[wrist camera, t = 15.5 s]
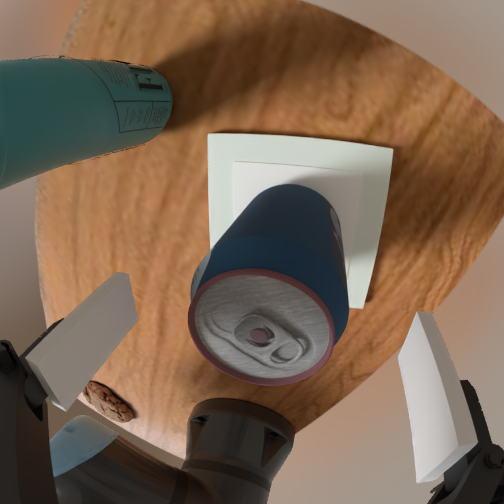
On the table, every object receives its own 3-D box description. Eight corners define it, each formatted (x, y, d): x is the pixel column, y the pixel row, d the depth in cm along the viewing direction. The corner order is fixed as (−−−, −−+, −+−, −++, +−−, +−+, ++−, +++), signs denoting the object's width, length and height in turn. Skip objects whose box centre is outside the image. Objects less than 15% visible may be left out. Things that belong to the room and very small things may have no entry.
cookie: (134, 422, 46) (127, 433, 43) (89, 395, 46) (81, 406, 44) (135, 400, 41) (127, 413, 39) (83, 370, 42) (74, 381, 39)
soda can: (228, 229, 23) (148, 329, 12) (285, 159, 19) (237, 212, 9) (297, 284, 23) (270, 411, 13) (359, 224, 20) (389, 338, 9)
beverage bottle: (200, 91, 19) (-102, 109, 2) (157, 160, 22) (-82, 282, 5) (141, 55, 18) (-105, 55, 1) (106, 121, 22) (-113, 190, 4)
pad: (361, 303, 24) (362, 309, 23) (215, 284, 26) (211, 289, 25) (390, 148, 18) (393, 149, 17) (211, 133, 20) (207, 133, 20)
